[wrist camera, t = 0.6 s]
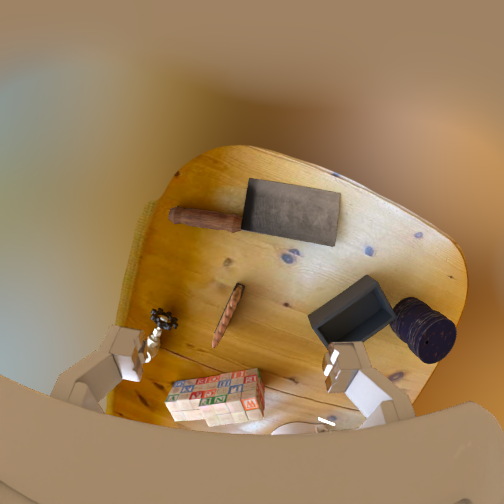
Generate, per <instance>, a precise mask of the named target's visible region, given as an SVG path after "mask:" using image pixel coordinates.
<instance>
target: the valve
mask: <svg viewBox="0 0 504 504" xmlns="http://www.w3.org/2000/svg"><path fill="white" fill-rule="evenodd" d="M153 313H154V314H153ZM151 314H152V316H151V319H152V320H154V322H155V323H156V324H157V326H158V327H156V328H155V329H154V331H153V334H149V336H148V338H147V341H146V342H147V349H148V352H147V358H146V362H147V363H149V361H150V360H151V358H153V357H155V356H156V355H157V352H158V350H159V348H160V346H161V344H160V338H159V336H160V335H161V333H162V329H167V330H171V328H172V325H173V326H174V329H177V327H178V324H177V323H176V322H177V321H178V319H177V318H175V317H171V312H167V313H165V312H163V309H161V308H159V309H158V311H157V310H156V309H152V311H151ZM158 315H164V316H161V318H159V316H158ZM168 318H169V319H170V321H171V322H170V323H168V322H167V321H168ZM166 326H167V327H166Z"/></svg>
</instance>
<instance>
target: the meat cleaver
mask: <svg viewBox="0 0 504 504" xmlns="http://www.w3.org/2000/svg"><path fill="white" fill-rule="evenodd" d="M339 203H340V193H336V192H331V191H325V190H320V189H315V188H309V187H303V186H297V185H291V184H285V183H279V182H273V181H266V180H259V179H252V178H249V183H248V188H247V194H246V200H245V206H244V212H243V218H241V217H240V216H238V215H237V214H229V215H227V214H224V213H221V212H214V211H206V210H199V209H182V208H180V207H178V206H177V207H175V208H172V209H170V211H169V220H170V221H172V222H173V223H174V224H179V223H184V224H186V225H189V226H195V227H202V228H209V229H216V230H227V231H230V232H232V233H234V232H237V231H240V230H244V231H249V232H255V233H261V234H267V235H272V236H278V237H283V238H289V239H294V240H300V241H305V242H311V243H316V244H322V245H327V246H332V247H333V246H335V242H336V233H337V224H338V214H339Z"/></svg>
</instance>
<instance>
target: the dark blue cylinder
mask: <svg viewBox="0 0 504 504" xmlns="http://www.w3.org/2000/svg"><path fill="white" fill-rule="evenodd" d="M393 311H394V313H395V315H396V317H397V318H396V319H395V320H393V321H392V322H391V323H390V326H391V328H392V330H393V331H394V332H395V333H396V335H397V336H398V337H399V338H400V339H401V340H402V341H403V342H405V343H407V344H408V347H409V348H410V350H411V351H412V352H413V353H414V354H415V355H416V356H417V357H419V359H420V360H421V361H422V362H424V363H427V364H433V363H436V362H438V361H440V360H442V359H443V358H444V357H445V356H446V355H447V354H448V353H449V352H450V351H451V349H452V347H453V345H454V343H455V340H456V335H457V334H456V333H457V332H456V327H455V324H454V323H453V322H452V321H451V320H449V319H448V318H447V317H446V316H444V315H442V314H441V313H440V312H438V311H435V310H432V309H431V307H429V306H428V305H427V304H426V303H424V302H423V301H420V300H418V299H417V298H414V297H408V298H405V299H403V300H401V301H400V302H399V303H397V304H396V306H395V307H394V309H393Z"/></svg>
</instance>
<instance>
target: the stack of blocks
mask: <svg viewBox="0 0 504 504" xmlns="http://www.w3.org/2000/svg"><path fill="white" fill-rule="evenodd" d="M165 403H166V405H167V407H168V409H169V411H170V412H171V414H172V416H173V418H174V420H175V421H186V420H187V421H188V420H198V419H205V420H206V422H207V424H208V426H217V425H224V424H231V423H239V422H246V421H254V420H260V419H263V417H264V384H263V382H262V379H261V376H260V373H259V370H258V368H254V369H249V370H242V371H237V372H231V373H225V374H221V375H217V376H210V377H205V378H199V379H197V378H196V379H189V380H182V381H176V382H175V384H174V385H173V387H172V389H171V391H170V392H169V395H168V397H167V399H166V401H165Z"/></svg>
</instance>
